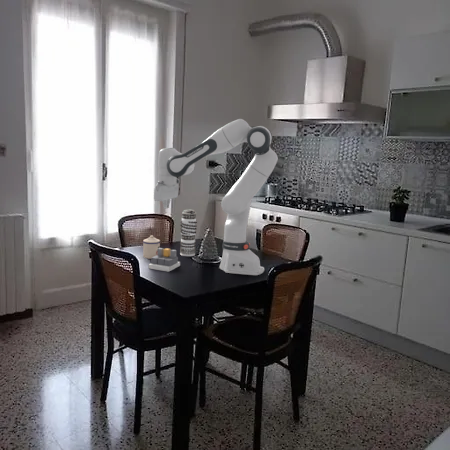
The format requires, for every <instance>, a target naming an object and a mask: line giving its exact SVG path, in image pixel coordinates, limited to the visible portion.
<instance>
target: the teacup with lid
mask: <svg viewBox="0 0 450 450" xmlns="http://www.w3.org/2000/svg"><path fill="white" fill-rule="evenodd" d="M142 243H143V244H142V246H143V247H142V248H143V251H142V257H143V258H144V259H148V260H151V258H152V257H154V256H156V255H158V248H161V247H160V246H161V240H160V239H158V238H156V237H155V236H154V235H149V237H147V238H145V239H143V241H142Z"/></svg>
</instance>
